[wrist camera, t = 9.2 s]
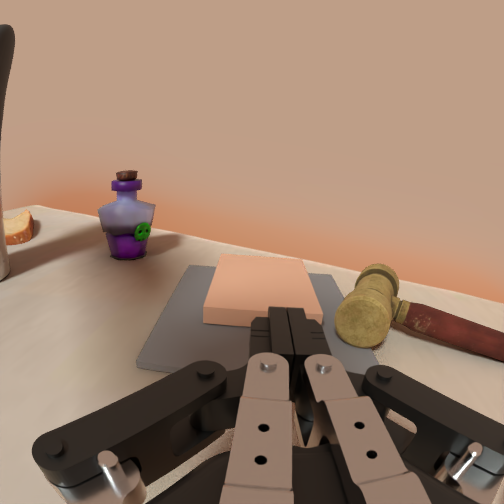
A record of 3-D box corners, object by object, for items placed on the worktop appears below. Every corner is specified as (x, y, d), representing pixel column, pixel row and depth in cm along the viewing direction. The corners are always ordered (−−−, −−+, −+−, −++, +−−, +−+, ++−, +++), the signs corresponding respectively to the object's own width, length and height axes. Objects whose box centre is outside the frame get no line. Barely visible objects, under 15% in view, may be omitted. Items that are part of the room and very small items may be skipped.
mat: (137, 367, 21) (135, 361, 20) (189, 269, 40) (189, 264, 39) (382, 380, 21) (384, 374, 20) (330, 278, 40) (331, 274, 39)
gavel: (529, 316, 23) (556, 363, 14) (511, 351, 24) (529, 405, 16) (364, 257, 32) (342, 288, 23) (353, 296, 33) (327, 337, 25)
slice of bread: (18, 248, 43) (16, 227, 41) (-37, 243, 42) (-40, 225, 41) (67, 224, 60) (66, 207, 58) (12, 222, 59) (10, 207, 58)
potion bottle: (139, 268, 39) (137, 173, 35) (88, 259, 40) (84, 173, 36) (167, 248, 47) (167, 169, 43) (120, 242, 48) (119, 168, 44)
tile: (203, 306, 26) (221, 253, 39) (203, 324, 26) (220, 266, 40) (323, 314, 26) (302, 259, 39) (319, 331, 26) (300, 272, 40)
